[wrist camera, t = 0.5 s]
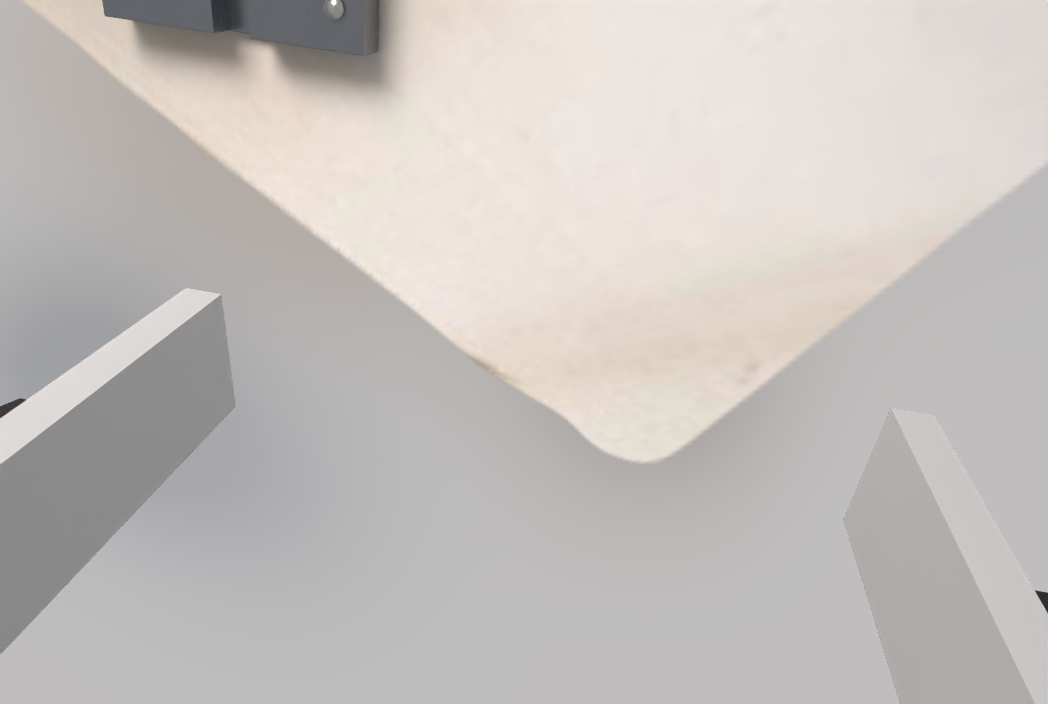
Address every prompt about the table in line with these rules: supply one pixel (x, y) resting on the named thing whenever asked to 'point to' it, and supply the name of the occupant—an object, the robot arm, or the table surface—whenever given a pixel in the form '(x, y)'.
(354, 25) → the chassis plate
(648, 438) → the table surface
